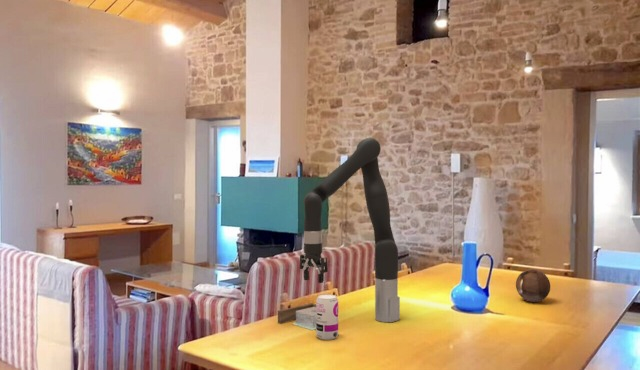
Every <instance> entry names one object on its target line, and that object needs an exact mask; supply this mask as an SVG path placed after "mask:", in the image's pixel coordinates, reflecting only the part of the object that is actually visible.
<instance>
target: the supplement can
mask: <svg viewBox="0 0 640 370" xmlns="http://www.w3.org/2000/svg"><path fill="white" fill-rule="evenodd" d="M315 302H316V303H315V304H316V330H315V331H316V337H317V338H318V339H320V340H324V341H329V340H330V341H331V340H334V339H337V337H338V336H339V299H338V297H337V295H334V294H320V295H317V298H316V301H315Z"/></svg>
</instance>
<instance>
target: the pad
mask: <svg viewBox="0 0 640 370" xmlns="http://www.w3.org/2000/svg"><path fill="white" fill-rule="evenodd" d="M291 325H292V326H296V327H300V328H303V329H306V330H309V331H316V330H315V329H316V328H313V329H312V328H309V327H306V326H303V325H299V324H296V322H292V323H291Z"/></svg>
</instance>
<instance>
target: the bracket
mask: <svg viewBox="0 0 640 370" xmlns="http://www.w3.org/2000/svg"><path fill="white" fill-rule="evenodd" d="M295 323H296V324H299V325H303V326H306V327H309V328H312V329H313V328H316V307H311V308H307V309H302V310H298V311H296V320H295Z"/></svg>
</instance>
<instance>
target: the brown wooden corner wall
mask: <svg viewBox="0 0 640 370" xmlns="http://www.w3.org/2000/svg"><path fill="white" fill-rule="evenodd" d="M311 307H316V303H314V302H310V303H307V304H306V303H305V304H301V305H298V306H293V307H288V308H284V309H279V310H277V323H278V324H280V325H281V324H285V323H289V322H294V321H296V311H298V310H302V309H307V308H311Z"/></svg>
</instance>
